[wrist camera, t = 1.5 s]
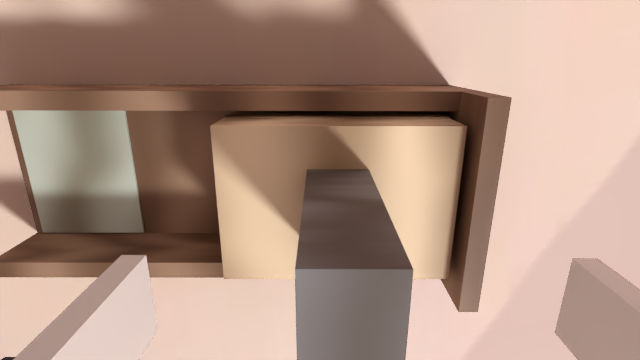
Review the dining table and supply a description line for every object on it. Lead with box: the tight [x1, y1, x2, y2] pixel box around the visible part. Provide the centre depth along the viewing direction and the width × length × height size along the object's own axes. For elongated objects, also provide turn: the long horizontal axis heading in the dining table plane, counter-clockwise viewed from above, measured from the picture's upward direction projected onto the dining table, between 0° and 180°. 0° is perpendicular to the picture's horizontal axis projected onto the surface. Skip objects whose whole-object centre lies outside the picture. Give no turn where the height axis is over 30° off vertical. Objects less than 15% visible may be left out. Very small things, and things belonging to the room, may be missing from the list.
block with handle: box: [210, 111, 467, 360], centre depth 17 cm, size 12×8×15 cm
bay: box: [0, 85, 511, 312], centre depth 22 cm, size 28×11×8 cm, turn 90°
